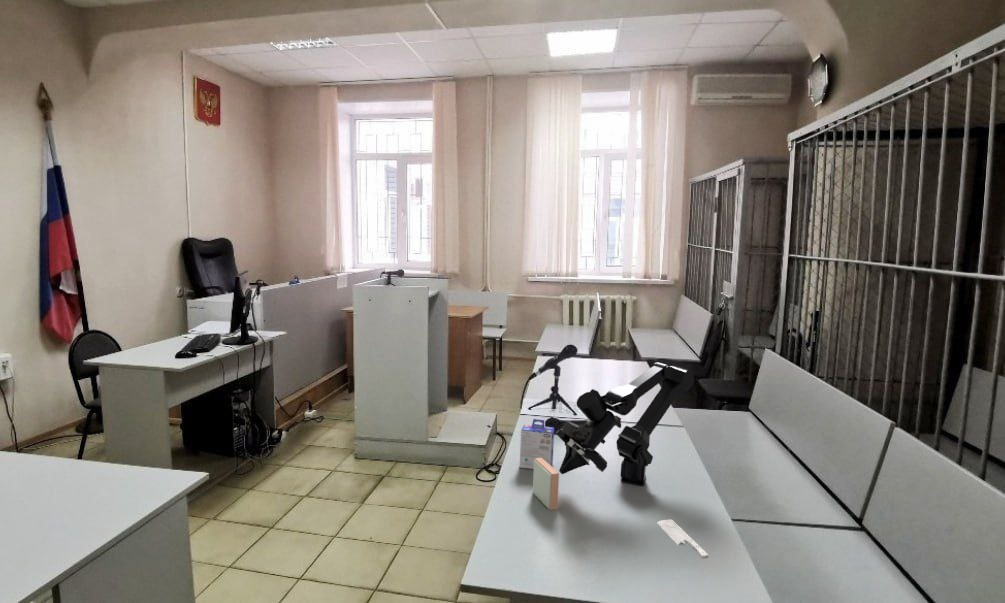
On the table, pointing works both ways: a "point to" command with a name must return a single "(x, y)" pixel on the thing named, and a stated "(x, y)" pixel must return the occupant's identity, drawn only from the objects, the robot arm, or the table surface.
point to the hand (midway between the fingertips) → (560, 472)
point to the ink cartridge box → (536, 444)
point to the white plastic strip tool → (679, 535)
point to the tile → (545, 483)
